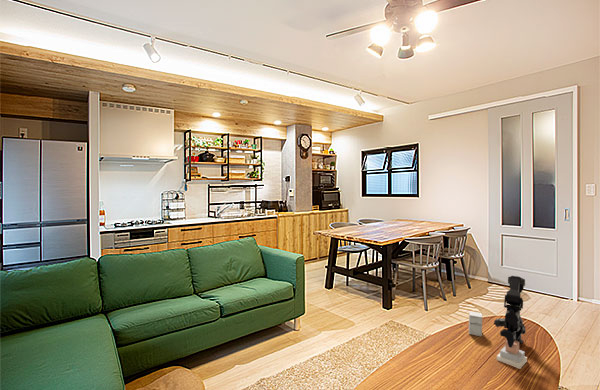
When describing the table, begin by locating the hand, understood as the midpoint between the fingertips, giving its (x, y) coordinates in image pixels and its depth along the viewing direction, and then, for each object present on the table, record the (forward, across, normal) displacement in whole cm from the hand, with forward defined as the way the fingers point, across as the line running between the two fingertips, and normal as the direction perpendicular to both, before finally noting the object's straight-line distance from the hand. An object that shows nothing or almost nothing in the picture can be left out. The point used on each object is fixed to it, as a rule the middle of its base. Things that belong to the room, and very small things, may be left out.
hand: (512, 345), depth 171 cm
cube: (+3, 0, 0) cm, 3 cm away
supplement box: (+9, -18, -26) cm, 33 cm away
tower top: (+6, 0, 0) cm, 6 cm away
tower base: (+9, 0, 0) cm, 9 cm away
